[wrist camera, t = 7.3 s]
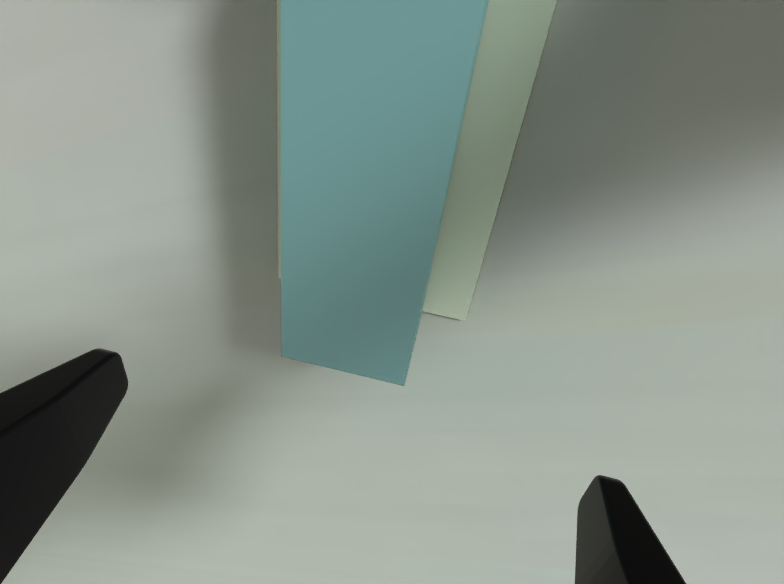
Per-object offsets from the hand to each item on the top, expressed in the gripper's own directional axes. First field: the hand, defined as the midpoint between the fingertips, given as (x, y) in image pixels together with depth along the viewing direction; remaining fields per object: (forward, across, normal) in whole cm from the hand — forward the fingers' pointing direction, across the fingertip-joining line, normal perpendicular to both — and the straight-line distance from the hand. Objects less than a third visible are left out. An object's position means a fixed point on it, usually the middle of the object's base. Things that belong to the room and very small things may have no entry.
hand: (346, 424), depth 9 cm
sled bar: (+11, +2, -2) cm, 11 cm away
